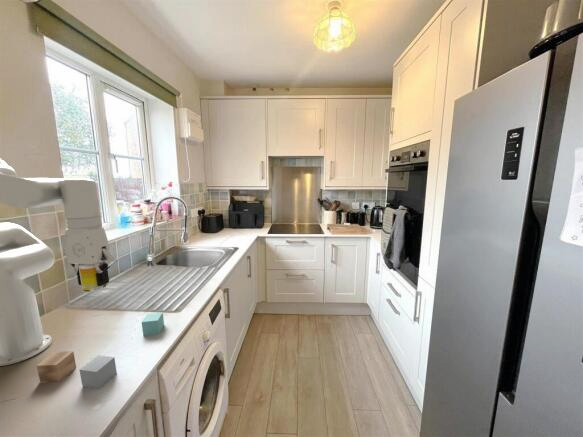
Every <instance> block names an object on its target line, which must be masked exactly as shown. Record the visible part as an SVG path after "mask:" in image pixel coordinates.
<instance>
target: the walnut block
mask: <svg viewBox="0 0 583 437" xmlns="http://www.w3.org/2000/svg"><path fill="white" fill-rule="evenodd" d="M76 364H77V363H76V359H75V353H74V350H73V351H71V350H69V351H54V352H53V353H52V354H50V355H49V356H47V357H46V358H44V359H43V360H42V361H40V362H38V364H37V365H36V369H37V374H38V379H39V383H60V382H61V381H62V380H64V379H65V378H66V377H67V376H68V375H69V374H70V373H71V372H72V371H73V370H75V369H76V368H77V365H76Z"/></svg>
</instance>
